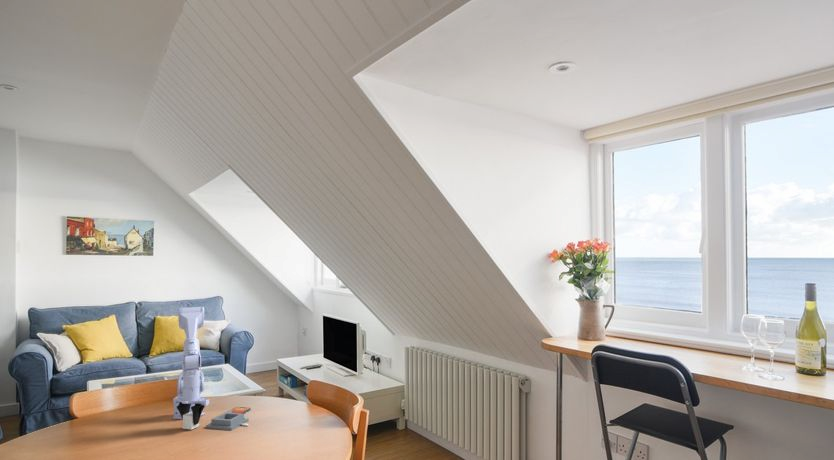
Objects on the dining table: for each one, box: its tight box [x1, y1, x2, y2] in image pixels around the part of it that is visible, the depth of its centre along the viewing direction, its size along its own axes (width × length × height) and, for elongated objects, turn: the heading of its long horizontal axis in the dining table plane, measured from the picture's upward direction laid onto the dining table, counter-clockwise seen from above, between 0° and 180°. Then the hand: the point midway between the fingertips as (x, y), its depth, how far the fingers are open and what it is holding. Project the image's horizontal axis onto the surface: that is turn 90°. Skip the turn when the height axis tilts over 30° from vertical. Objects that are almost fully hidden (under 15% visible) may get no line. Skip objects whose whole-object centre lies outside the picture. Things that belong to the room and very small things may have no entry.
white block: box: [182, 412, 200, 430], centre depth 186 cm, size 4×4×5 cm
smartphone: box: [226, 406, 251, 415], centre depth 202 cm, size 7×15×1 cm, turn 169°
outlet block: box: [205, 411, 250, 431], centre depth 190 cm, size 14×11×3 cm
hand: (190, 423), depth 186 cm, fingers closed on white block, 4 cm apart
